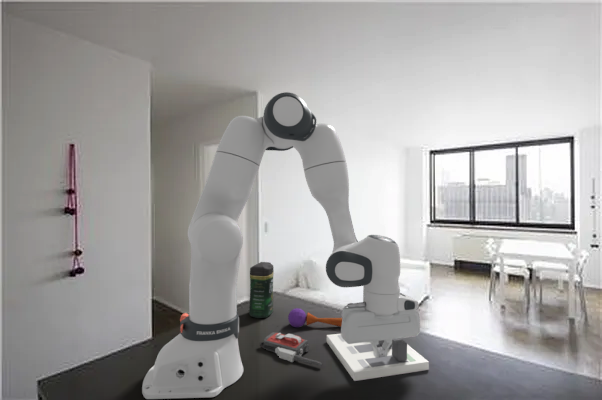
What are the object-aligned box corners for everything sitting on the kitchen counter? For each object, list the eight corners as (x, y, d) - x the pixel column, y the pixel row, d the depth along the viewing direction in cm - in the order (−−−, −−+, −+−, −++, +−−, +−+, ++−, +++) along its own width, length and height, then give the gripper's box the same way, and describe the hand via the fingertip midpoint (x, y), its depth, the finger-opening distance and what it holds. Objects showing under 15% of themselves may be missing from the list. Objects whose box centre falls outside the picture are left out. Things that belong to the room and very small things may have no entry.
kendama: (350, 320, 99) (287, 313, 100) (348, 336, 100) (286, 330, 101) (349, 309, 105) (289, 303, 106) (347, 325, 106) (288, 319, 107)
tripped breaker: (398, 361, 77) (398, 344, 77) (391, 355, 80) (392, 339, 80) (406, 360, 78) (407, 343, 78) (400, 354, 81) (400, 338, 81)
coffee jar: (268, 320, 108) (268, 266, 108) (246, 318, 110) (246, 265, 109) (276, 310, 117) (276, 260, 117) (256, 308, 119) (256, 259, 119)
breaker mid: (383, 347, 84) (384, 332, 84) (378, 342, 87) (378, 327, 87) (391, 346, 85) (391, 331, 85) (386, 341, 88) (386, 326, 87)
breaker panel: (354, 381, 73) (354, 372, 73) (326, 341, 92) (326, 334, 92) (428, 369, 78) (428, 361, 78) (387, 334, 97) (387, 328, 97)
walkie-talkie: (254, 352, 87) (320, 372, 77) (254, 336, 86) (320, 354, 77) (272, 339, 94) (333, 356, 85) (272, 325, 94) (333, 340, 85)
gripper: (347, 308, 72) (346, 368, 72) (424, 302, 77) (423, 357, 77) (337, 299, 78) (336, 354, 78) (409, 294, 83) (408, 345, 83)
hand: (380, 356), depth 78 cm, fingers closed
